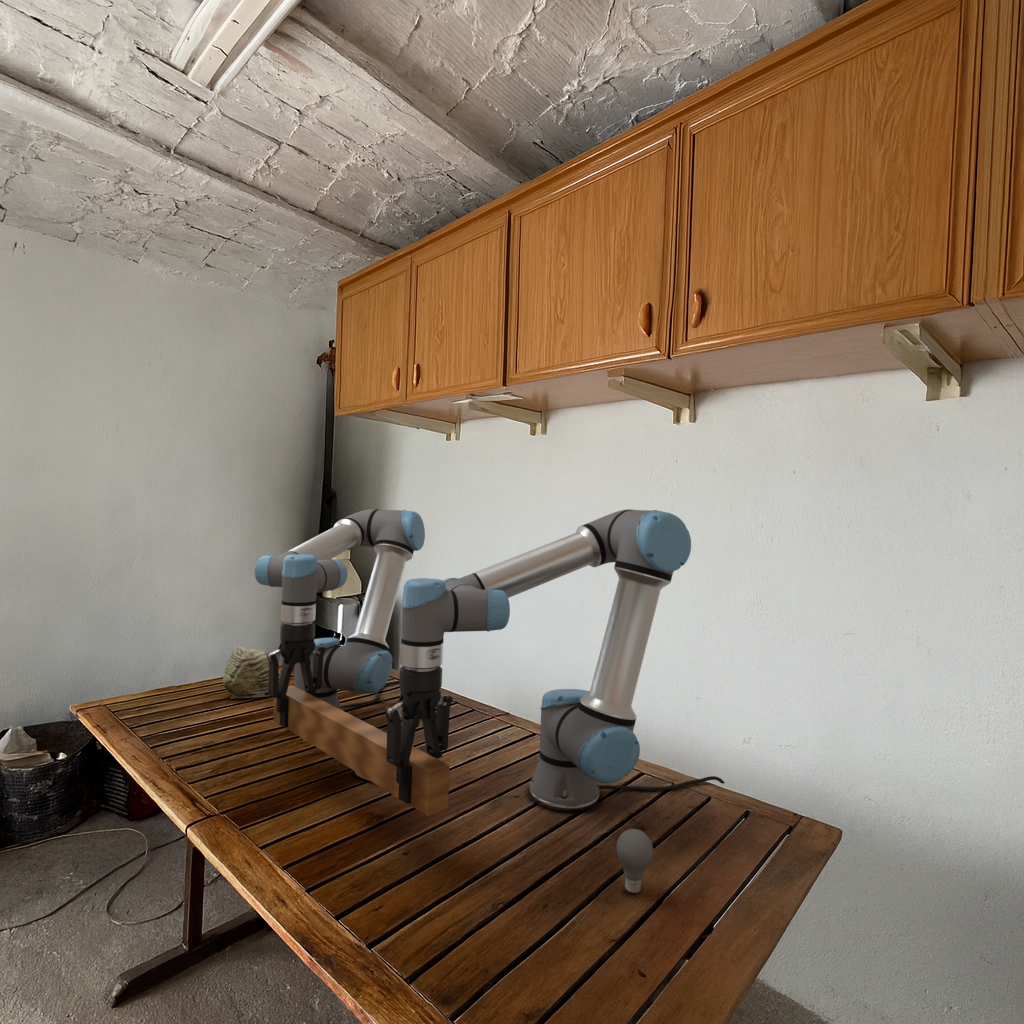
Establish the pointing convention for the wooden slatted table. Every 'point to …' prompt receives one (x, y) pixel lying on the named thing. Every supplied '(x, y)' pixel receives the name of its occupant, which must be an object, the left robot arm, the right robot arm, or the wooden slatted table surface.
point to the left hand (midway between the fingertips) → (294, 723)
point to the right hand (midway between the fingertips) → (416, 796)
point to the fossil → (247, 673)
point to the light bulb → (634, 857)
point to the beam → (365, 749)
